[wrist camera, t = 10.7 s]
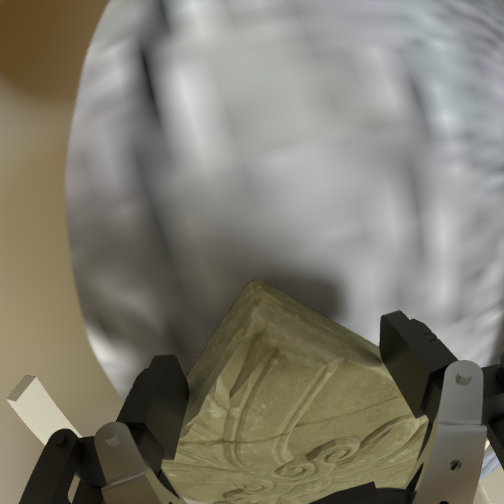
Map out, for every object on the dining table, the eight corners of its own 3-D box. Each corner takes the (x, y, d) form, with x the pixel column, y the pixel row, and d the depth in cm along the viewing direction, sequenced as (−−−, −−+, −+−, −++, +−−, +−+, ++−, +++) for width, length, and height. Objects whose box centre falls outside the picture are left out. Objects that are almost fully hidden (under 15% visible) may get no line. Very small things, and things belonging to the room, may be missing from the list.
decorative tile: (256, 267, 11) (258, 311, 7) (470, 389, 14) (491, 417, 10) (127, 452, 15) (115, 485, 12) (320, 501, 18) (325, 526, 15)
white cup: (441, 480, 20) (461, 524, 10) (479, 457, 20) (500, 497, 10) (425, 497, 22) (440, 536, 13) (461, 478, 22) (478, 513, 12)
